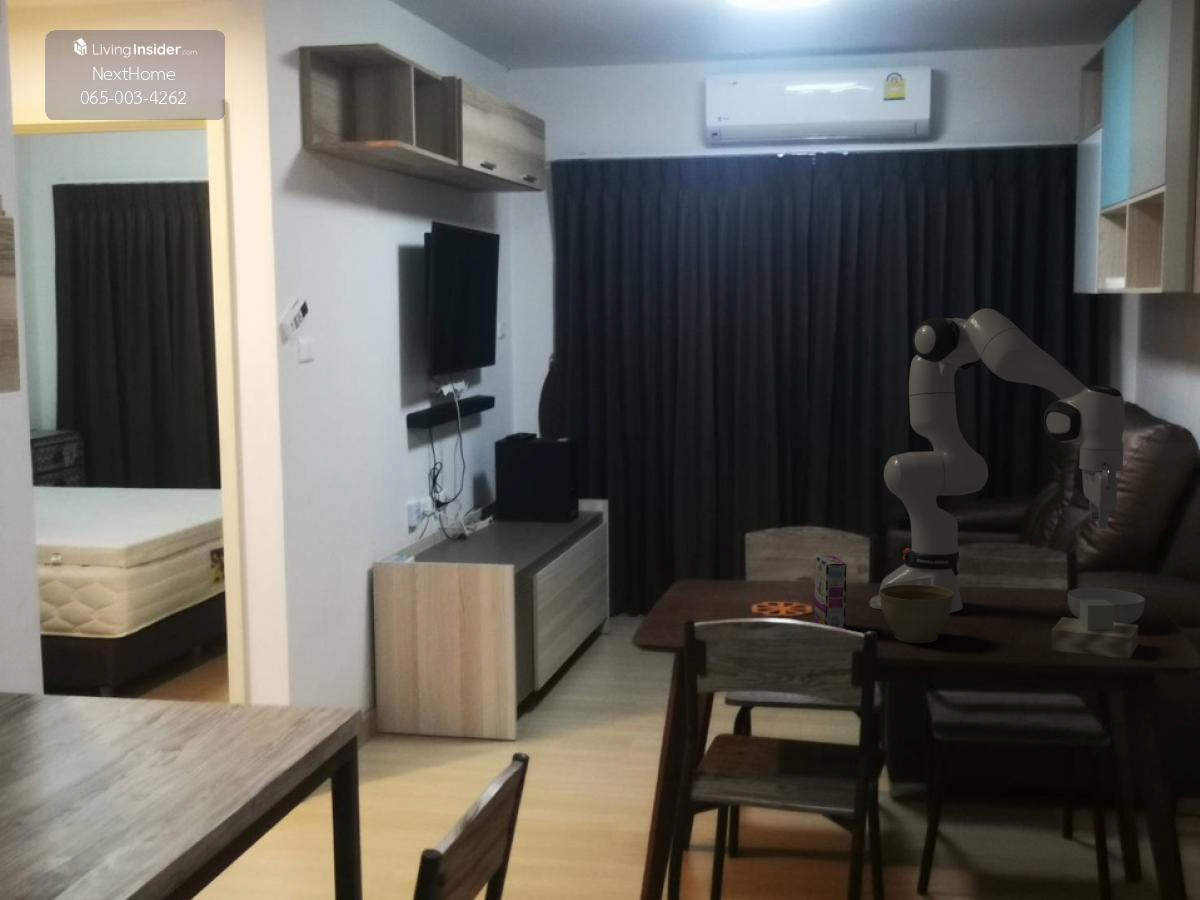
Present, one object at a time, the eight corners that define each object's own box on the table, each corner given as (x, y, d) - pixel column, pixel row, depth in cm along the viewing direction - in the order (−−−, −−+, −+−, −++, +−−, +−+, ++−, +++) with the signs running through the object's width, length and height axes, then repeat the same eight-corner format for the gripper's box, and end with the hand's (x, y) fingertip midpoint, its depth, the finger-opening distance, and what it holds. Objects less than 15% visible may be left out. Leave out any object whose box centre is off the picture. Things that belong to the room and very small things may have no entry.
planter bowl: (885, 627, 313) (885, 582, 312) (956, 633, 307) (957, 586, 306) (873, 644, 298) (873, 596, 297) (947, 650, 292) (948, 601, 291)
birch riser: (1051, 652, 292) (1052, 629, 291) (1061, 638, 303) (1062, 617, 303) (1129, 661, 284) (1130, 638, 284) (1137, 647, 296) (1138, 624, 295)
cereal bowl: (1079, 633, 307) (1080, 602, 306) (1057, 616, 323) (1058, 587, 322) (1154, 633, 306) (1155, 603, 305) (1129, 616, 322) (1130, 587, 322)
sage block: (1087, 630, 291) (1088, 605, 290) (1079, 624, 296) (1079, 599, 295) (1113, 630, 290) (1113, 605, 290) (1104, 624, 296) (1105, 599, 295)
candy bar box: (846, 634, 307) (847, 563, 305) (825, 635, 307) (825, 564, 305) (834, 622, 318) (834, 554, 316) (813, 623, 318) (814, 555, 316)
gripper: (1125, 467, 279) (1123, 533, 280) (1108, 455, 298) (1105, 517, 300) (1093, 467, 280) (1091, 532, 281) (1078, 455, 300) (1076, 516, 301)
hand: (1098, 524), depth 291 cm, fingers open, 8 cm apart
